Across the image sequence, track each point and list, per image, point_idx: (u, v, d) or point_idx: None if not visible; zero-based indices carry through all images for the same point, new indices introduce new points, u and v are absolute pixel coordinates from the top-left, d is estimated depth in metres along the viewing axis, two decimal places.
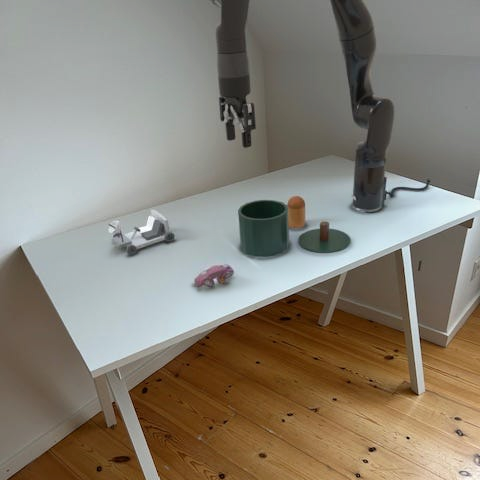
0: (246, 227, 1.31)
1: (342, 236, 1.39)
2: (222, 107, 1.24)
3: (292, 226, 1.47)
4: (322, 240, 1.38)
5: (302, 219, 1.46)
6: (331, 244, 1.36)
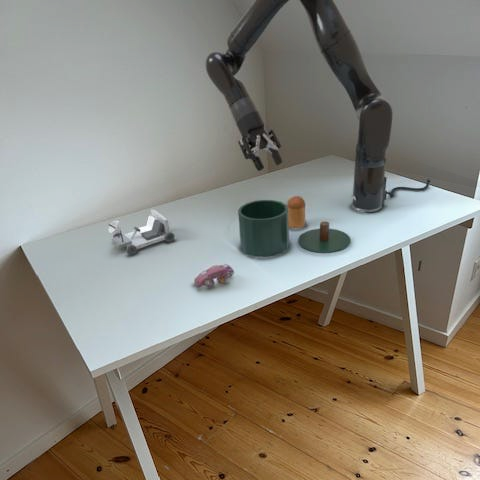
0: (246, 227, 1.31)
1: (342, 236, 1.39)
2: None
3: (292, 226, 1.47)
4: (322, 240, 1.38)
5: (302, 219, 1.46)
6: (331, 244, 1.36)
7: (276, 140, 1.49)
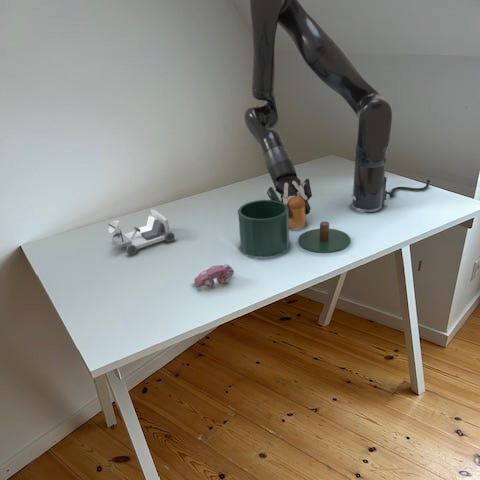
0: (246, 227, 1.31)
1: (342, 236, 1.39)
2: (304, 189, 1.49)
3: (292, 226, 1.47)
4: (322, 240, 1.38)
5: (302, 219, 1.46)
6: (331, 244, 1.36)
7: (308, 189, 1.47)
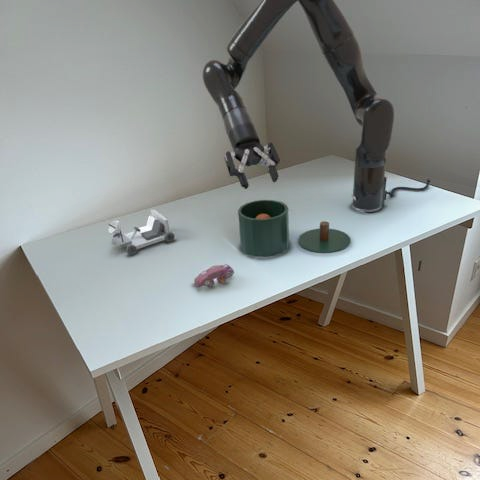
0: (246, 227, 1.31)
1: (342, 236, 1.39)
2: (269, 155, 1.33)
3: None
4: (322, 240, 1.38)
5: None
6: (331, 244, 1.36)
7: (274, 154, 1.31)
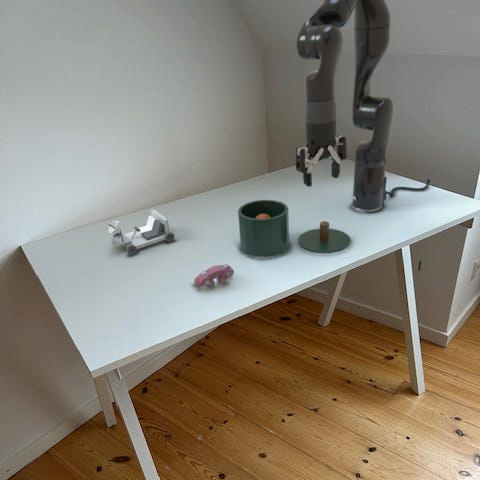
0: (246, 227, 1.31)
1: (342, 236, 1.39)
2: (337, 145, 1.27)
3: None
4: (322, 240, 1.38)
5: None
6: (331, 244, 1.36)
7: (344, 150, 1.26)
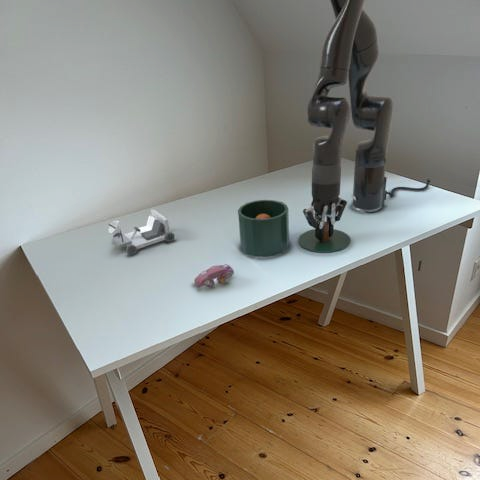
0: (246, 227, 1.31)
1: (342, 236, 1.39)
2: (336, 206, 1.36)
3: None
4: (322, 240, 1.38)
5: None
6: (331, 244, 1.36)
7: (340, 213, 1.35)
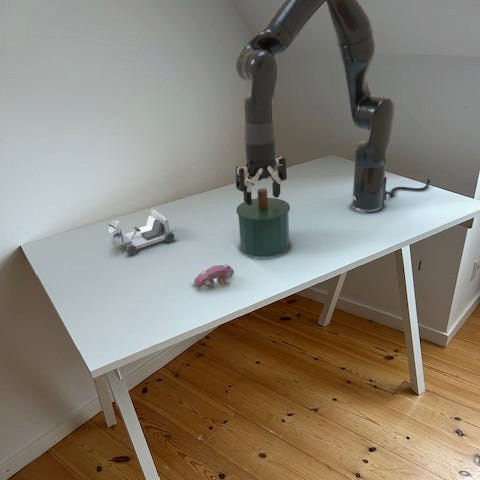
0: (246, 227, 1.31)
1: (282, 205, 1.33)
2: (278, 165, 1.30)
3: None
4: (260, 208, 1.32)
5: None
6: (269, 212, 1.30)
7: (284, 171, 1.29)
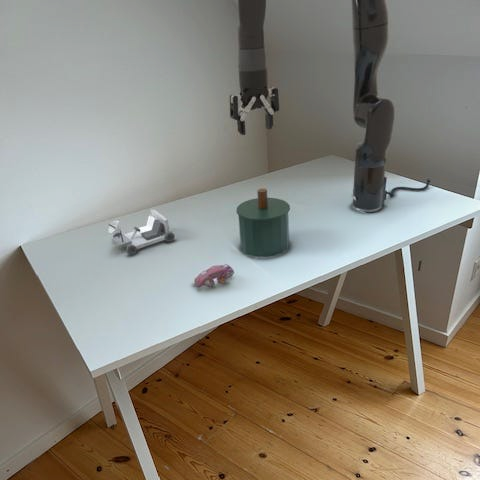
0: (246, 227, 1.31)
1: (282, 205, 1.33)
2: (270, 97, 1.34)
3: None
4: (260, 208, 1.32)
5: None
6: (269, 212, 1.30)
7: (276, 102, 1.33)
